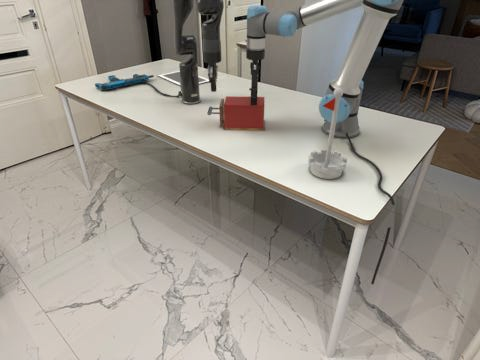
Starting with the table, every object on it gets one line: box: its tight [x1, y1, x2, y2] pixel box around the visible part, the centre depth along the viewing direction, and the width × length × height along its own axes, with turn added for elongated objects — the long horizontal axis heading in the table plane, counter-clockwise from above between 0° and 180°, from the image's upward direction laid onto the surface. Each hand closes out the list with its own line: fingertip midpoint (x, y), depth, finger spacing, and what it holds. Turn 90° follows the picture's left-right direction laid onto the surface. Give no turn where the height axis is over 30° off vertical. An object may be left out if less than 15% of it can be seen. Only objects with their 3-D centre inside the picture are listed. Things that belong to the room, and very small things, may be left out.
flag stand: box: [307, 88, 348, 180], centre depth 113 cm, size 13×13×30 cm
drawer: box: [207, 98, 225, 128], centre depth 153 cm, size 22×10×10 cm, turn 87°
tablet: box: [157, 70, 210, 87], centre depth 215 cm, size 32×20×1 cm, turn 41°
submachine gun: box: [94, 73, 155, 91], centre depth 208 cm, size 34×4×25 cm
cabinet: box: [224, 95, 265, 131], centre depth 152 cm, size 17×11×11 cm, turn 87°
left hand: (213, 91), depth 148 cm, fingers closed
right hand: (254, 99), depth 149 cm, fingers open, 13 cm apart
